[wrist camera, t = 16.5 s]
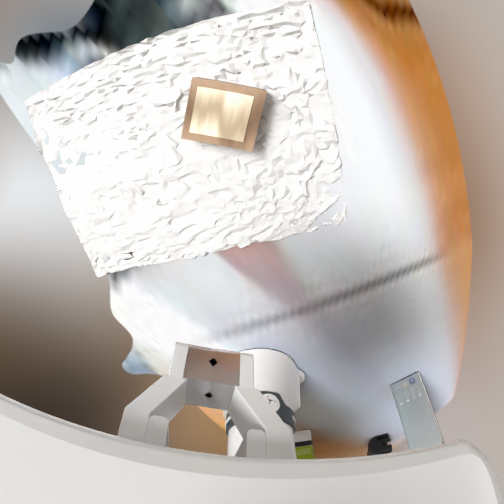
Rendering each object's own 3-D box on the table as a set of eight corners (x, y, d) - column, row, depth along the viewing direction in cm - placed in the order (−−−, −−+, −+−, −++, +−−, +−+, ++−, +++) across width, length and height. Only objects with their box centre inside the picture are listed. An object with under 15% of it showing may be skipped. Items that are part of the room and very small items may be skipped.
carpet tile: (306, 2, 29) (309, -2, 27) (346, 221, 44) (350, 228, 42) (28, 99, 33) (20, 102, 31) (100, 273, 49) (96, 280, 47)
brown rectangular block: (252, 152, 34) (180, 138, 33) (252, 145, 37) (186, 133, 36) (267, 91, 30) (191, 77, 29) (265, 89, 33) (196, 77, 32)
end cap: (366, 438, 82) (370, 456, 76) (388, 432, 81) (392, 450, 75) (365, 448, 87) (368, 465, 81) (385, 443, 86) (389, 459, 80)
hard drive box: (388, 384, 65) (410, 457, 48) (417, 370, 63) (445, 442, 46) (402, 406, 72) (421, 468, 55) (428, 394, 70) (449, 455, 53)
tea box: (311, 447, 83) (316, 489, 70) (279, 451, 84) (281, 493, 71) (311, 428, 75) (317, 476, 62) (273, 432, 76) (276, 481, 63)
